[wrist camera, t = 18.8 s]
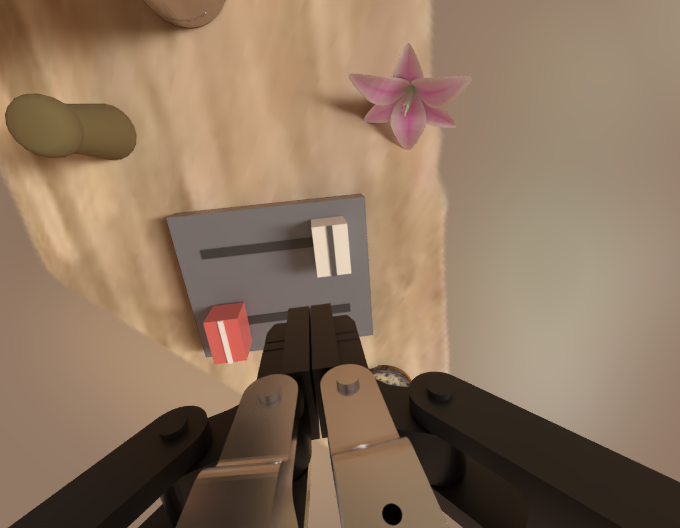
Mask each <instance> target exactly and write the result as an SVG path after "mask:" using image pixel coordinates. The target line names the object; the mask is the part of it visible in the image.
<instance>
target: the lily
mask: <svg viewBox="0 0 680 528" xmlns="http://www.w3.org/2000/svg"><path fill="white" fill-rule="evenodd" d="M349 79H350V80H351V82H352V84H353V85H354V86H355V87H356V88H357V90H358V91H359V92H360V93H361V94H362V95H363V96H364V97H365V98H366V99H367V100H369V101H370V102H371V103H373V104H375V105H374V106H373V107H372V108H371V110H370V111H369V112H368V113H367V115H366V116H365V118H364V121H366V122H370V123H386V122H391V127H392V130H393V132H394V134H395V136H396V138H397V140H398V141H399V143H400V144H401V145H402V147H403V148H405V149H407V150H410V149H411V148H412V147H413V146H414V145H415V144H416V143H417V141H418V139H419V138H420V136H421V135H422V133H423V131H424V128H425V124H428V125H432V126H437V127H445V128H455V127H457V124H456V122H455V121H454V120H453V119H452V117H451V116H450V115H449V114H448V112H447V111H446V110H445V109H444V108H443V107H444V106H446V105H448V104H449V103H450V102H452V101H453V100H454V99H455V98H456V97H458V96H459V95H460V94H461V93H462V92H463V91H464V90H465V89H466V87H467V86H468V85H469V84H470V83H471V80H472V78H471V77H469V76H454V77H441V78H424V76H423V72H422V69H421V67H420V64H419V62H418V59H417V57H416V54H415V52H414V50H413V48H412V46H411V45H410V44H409V43H407V44H406V45H405V46H404V48H403V50H402V52H401V54H400V56H399V59H398V61H397V64H396V66H395V69H394V73H393V77H379V76H370V75H363V74H350V75H349Z"/></svg>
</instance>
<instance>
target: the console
mask: <svg viewBox="0 0 680 528" xmlns="http://www.w3.org/2000/svg"><path fill="white" fill-rule="evenodd" d="M338 216H343V217H344V219H345V221H346V222H347V227H348V239H349V251H350V263H351V274H343V275H337V276H326V277H317V269H316V261H315V253H314V245H313V237H312V229H311V219H320V218H329V217H338ZM166 220H167V223H168V226H169V230H170V233H171V237H172V240H173V244H174V247H175V251H176V254H177V258H178V261H179V265H180V268H181V272H182V275H183V279H184V282H185V286H186V289H187V293H188V296H189V300H190V303H191V307H192V310H193V314H194V317H195V321H196V324H197V328H198V331H199V335H200V338H201V342H202V345H203V349H204V352H205V356H206V357H212V353H211V350H210V346H209V342H208V339H207V335H206V332H205V328H204V324H203V322H204V321H205V319H206V317H207V316H208V314H209V312H210V311H211V309H212V307H213V306H215V305H223V304H231V303H239V302H244V304H245V308H246V313H247V318H248V322H249V327H250V331H251V336H252V344H251V347H250V351H257V350H263V349H264V344H265V340H266V335H267V332H268V331H269V330H270V329H271V328H272V327H273V325H274V324H278V323H286V322H287V317H288V309H289V308H295V307H303V306H309V308H310V314H311V305H318V304H326V303H331V309H332V315H333V316H340V315H348V316H349V317H350V318H352V319H353V320H354V321H355V324H356V327H357V331H358V334H359V337H361V336H368V335H373V323H372V307H371V291H370V275H369V258H368V242H367V226H366V210H365V197H364V196H363V195H362V194H353V195H344V196H334V197H325V198H315V199H306V200H296V201H287V202H277V203H268V204H258V205H249V206H240V207H230V208H221V209H211V210H202V211H192V212H183V213H175V214H173V215H171V216H169V217H167V218H166Z"/></svg>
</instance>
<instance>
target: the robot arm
mask: <svg viewBox="0 0 680 528" xmlns="http://www.w3.org/2000/svg"><path fill="white" fill-rule="evenodd" d="M143 1H144V2H145V3H146V4H147V5H148V6H149V7H150V8H151V9H153V10H154V11H155V12H156V13H157V14H158V15H160V16H161V17H162V18H163V19H165V20H166V21H168V22H170V23H172V24H174V25H177V26H181V27H188V28H194V27H199V26H203V25H205V24H207V23H209V22H210V21H212V20H213V19H214V18H215V17H216V16H217V15H218V14H219V12H220V11H221V9H222V7H223V5H224V2H225V0H143ZM319 420H320V427H321V433H322V438H326V437H328V444H329V451H330V459H331V466H332V472H333V479H334V485H335V491H336V497H337V504H338V510H339V516H340V522H341V528H449V526H448V524H447V522H446V520H445V517H444V515H443V513H442V511H443V512H444V513H446V514H447V515H448V516H449V517H451V518H452V519H453V520H454V521H455V522H457V523H458V524H459V525H460V526H462V527H463V528H680V482H678V481H676V480H674V479H672V478H669V477H667V476H665V475H663V474H661V473H659V472H657V471H655V470H652V469H650V468H648V467H646V466H644V465H642V464H640V463H637V462H635V461H633V460H631V459H629V458H627V457H625V456H622V455H621V454H618V453H616V452H614V451H612V450H610V449H608V448H605V447H603V446H601V445H599V444H597V443H595V442H593V441H591V440H589V439H587V438H584V437H582V436H580V435H578V434H576V433H573V432H572V431H570V430H567V429H565V428H563V427H561V426H559V425H557V424H555V423H552V422H550V421H548V420H546V419H544V418H542V417H540V416H538V415H535V414H533V413H531V412H529V411H527V410H525V409H523V408H521V407H518V406H516V405H514V404H512V403H510V402H508V401H506V400H504V399H501V398H499V397H497V396H495V395H493V394H491V393H489V392H486V391H484V390H482V389H480V388H478V387H475V386H474V385H472V384H469V383H467V382H465V381H463V380H461V379H459V378H456V377H454V376H452V375H450V374H447V373H442V372H427V373H423V374H420V375H418V376H417V377H415V378H414V379H413V380H412V381H411V383H410V386H409V387H404V386H395V385H390V384H386V383H384V382H381V381H379V380H378V379H376V378H375V377H374V375H373V374H372V372H371V371H370V370H369V369H368V366H367V363H366V359H365V355H364V352H363V348H362V345H361V341H360V338H359V334H358V331H357V327H356V324H355V321H354V320H353V319H352V318H350V317H349V316H348V315H340V316H333V315H332V309H331V303H326V304H318V305H311V314H310V308H309V306H303V307H295V308H289V309H288V317H287V322H286V323H278V324H274V325H273V327H272V328H271V329H270V330H269V331H268V332H267V335H266V340H265V344H264V349H263V354H262V358H261V363H260V367H259V372H258V377H257V380H256V381H255V382H253V383H252V384H251V385H249V387H248V388H247V389H246V390H245V391H244V393H243V395H242V398H241V401H240V404H239V405H237V406H235V407H234V408H232V409H229V410H227V411H224V412H222V413H219V414H217V415H214V416H212V417H209V418H207V415H206V412H205V411H204V410H203V409H202V408H200V407H197V406H184V407H179V408H176V409H173V410H171V411H169V412H167V413H165V414H163V415H162V416H160V417H159V418H157V419H156V420H154V421H153V422H152V423H150V424H149V425H148V426H146V427H145V428H144V429H142V430H141V431H139V432H138V433H137V434H135V435H134V436H133V437H131V438H130V439H129V440H127V441H126V442H124V443H123V444H122V445H120V446H119V447H118V448H116V449H115V450H114V451H112V452H111V453H109V454H108V455H107V456H105V457H104V458H103V459H101V460H100V461H98V462H97V463H96V464H95V465H93V466H92V467H91V468H89V469H88V470H86V471H85V472H84V473H82V474H81V475H79V476H78V477H77V478H75V479H74V480H73V481H71V482H70V483H68V484H67V485H66V486H64V487H63V488H62V489H60V490H59V491H58V492H56V493H55V494H53V495H52V496H51V497H49V498H48V499H47V500H45V501H44V502H43V503H41V504H40V505H38V506H37V507H36V508H34V509H33V510H32V511H30V512H29V513H28V514H26V515H25V516H23V517H22V518H21V519H19V520H18V521H17V522H15V523H14V524H13V525H11V526H10V527H8V528H127V527H128V526H129V525H131V523H133V522H134V521H135V520H136V519H137V518H138V517H139V516H140V515H141V514H142V513H143V512H144V511H145V510H146V509H148V508H149V507H150V506H151V505H152V504H153V503H154V502H155V501H156V500H157V499H158V498H159V497H160V498H161V501H162V503H163V504H162V505H161V506H160V507H159V508H158V509H157V510H156V511H155V512H154V513H153V514H152V515H151V516H150V517H149V518H148V519H147V520H146V521H145V522H143V523H142V524H141V525H140V526H139V527H138V528H308V517H309V501H310V485H311V470H312V469H311V461H310V459H311V453H312V452H311V440H314V439H320V432H319ZM441 510H442V511H441Z"/></svg>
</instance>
